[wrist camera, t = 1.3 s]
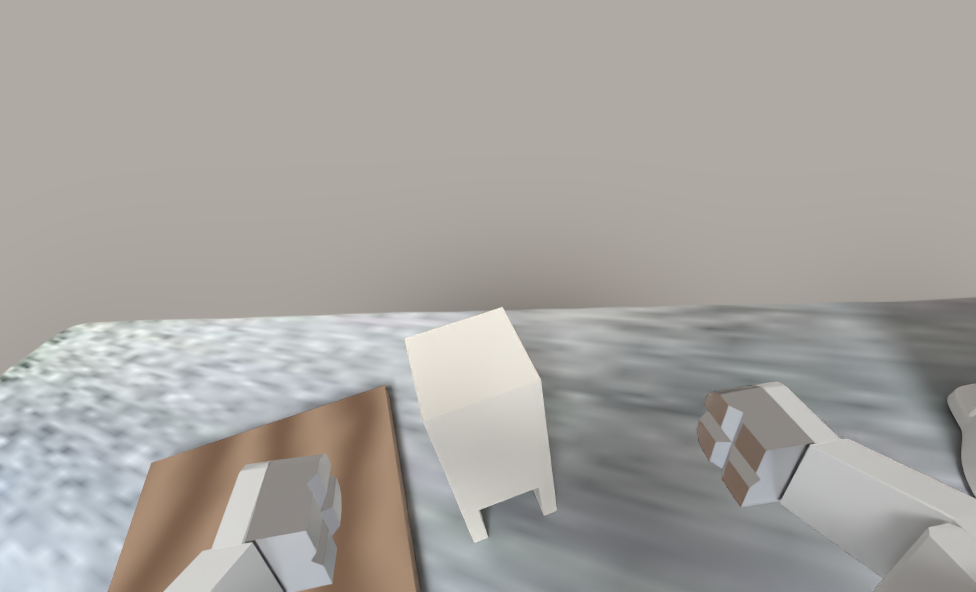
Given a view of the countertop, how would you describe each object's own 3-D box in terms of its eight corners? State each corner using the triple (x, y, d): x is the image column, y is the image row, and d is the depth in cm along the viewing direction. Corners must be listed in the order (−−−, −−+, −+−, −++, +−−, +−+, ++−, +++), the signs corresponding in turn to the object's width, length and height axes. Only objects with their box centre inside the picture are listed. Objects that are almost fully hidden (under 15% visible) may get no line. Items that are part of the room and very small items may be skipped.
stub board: (389, 395, 41) (374, 362, 38) (446, 751, 22) (424, 739, 20) (162, 472, 38) (127, 443, 35) (15, 946, 20) (-83, 965, 17)
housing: (526, 439, 35) (502, 306, 26) (557, 510, 31) (540, 379, 22) (453, 465, 34) (404, 338, 26) (474, 543, 30) (422, 421, 21)
